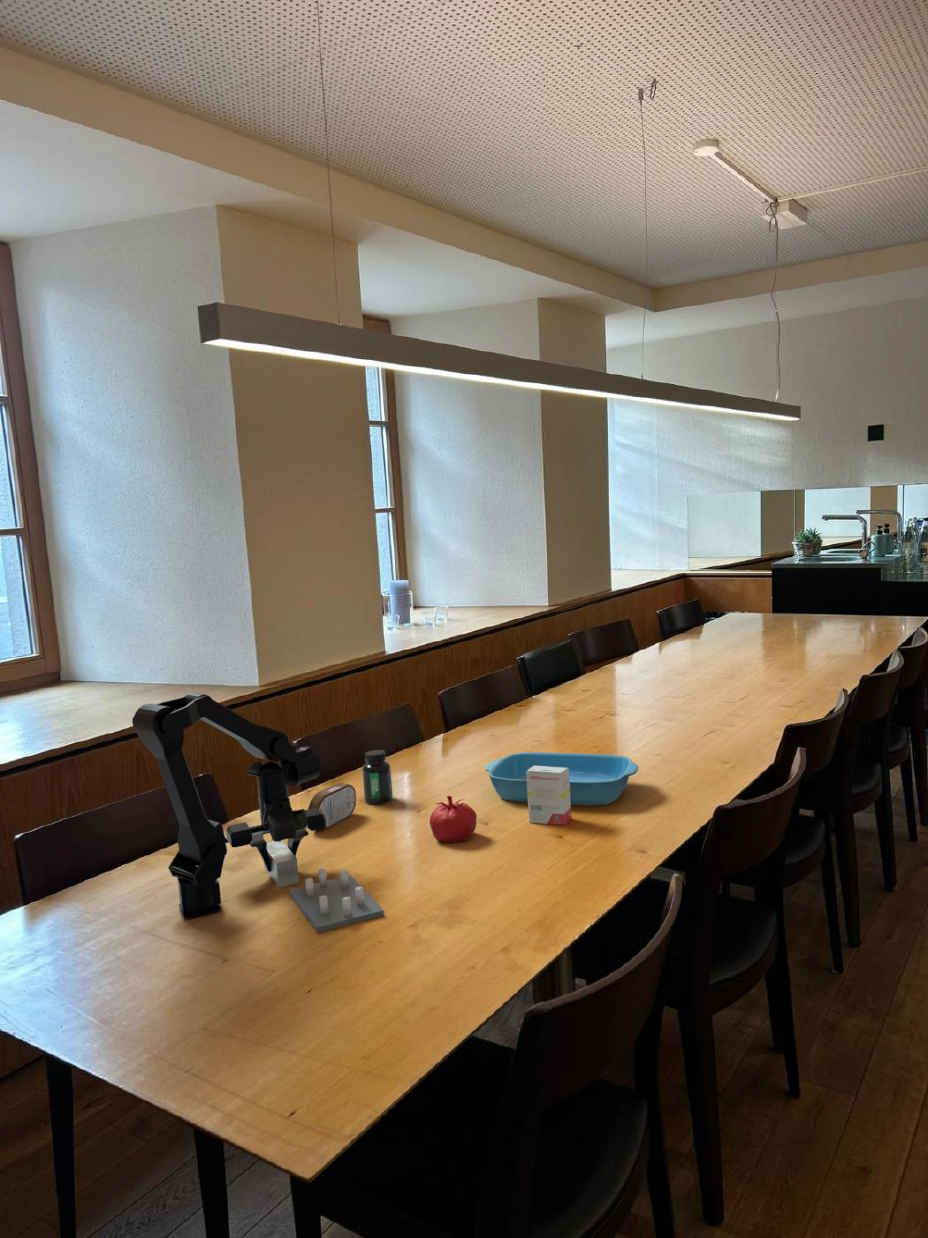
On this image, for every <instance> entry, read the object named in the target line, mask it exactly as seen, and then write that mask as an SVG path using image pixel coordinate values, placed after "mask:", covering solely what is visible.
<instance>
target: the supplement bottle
mask: <svg viewBox="0 0 928 1238" xmlns="http://www.w3.org/2000/svg"><path fill="white" fill-rule="evenodd" d="M364 755H365V758H364V761H365V763H364V764H363V766H362V769H361V770H362V771H361V772H362V773H361V774H362V781H363V782H362V783H363V784H362V785H363V796H364V802H365V803H366V804H367V805H376V806H377V805H384V804H387V803H390V802H391V801H392V800H393V798H394V797H393V796H394V795H393V784H392V780H393V779H392V769H391V765H390V763H389V762H388V761H386V760H387V758H386V751H385V750H381V749H375V750H369V751H366V752H365V754H364Z"/></svg>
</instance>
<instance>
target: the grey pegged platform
mask: <svg viewBox="0 0 928 1238" xmlns="http://www.w3.org/2000/svg"><path fill="white" fill-rule="evenodd" d="M317 871H318V881H319V882H316V883H314V878H312V877H307V878H305V879H304V883H305V885H303V886H299V887H295V888H291V889H289V895H290V897H291V899H292V900H293V901H294V903H295V904H296V905H297V907H298V908H299V909H300V911H301V912H302V914H303V915H304V916H305V918H306V919H307V921H308V922H309V924H310V925H311V927H313V929H314V931H315V932H316V933H317V934H321V933H323V932H327V931H331V930H334V929H338V928H342V927H346V926H349V925H354V924H357V923H362V922H366V921H369V920H372V919H377V918H380V917H383V916H385V911H384V909H383V908H382V907H381V906H380V904H378V902H376V900H375V899H374V898H373V897H372V896H371V895H370V894H369V892H367V890H365V888H364V887H363V886H362V885H361V884H360V883H359V882H358V881H357V880H356V879H355V878H354V877H353V875H352V874H349V875H348V869H341V870H339V877H337V878H333V879H327V869H326V868H319V869H318V870H317Z"/></svg>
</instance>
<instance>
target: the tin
mask: <svg viewBox="0 0 928 1238" xmlns="http://www.w3.org/2000/svg"><path fill="white" fill-rule="evenodd" d="M356 806H357V793H356V789H355V787H354V786H353V785H351V784H348V783H344V782H337V783H336V784H332V785H331V786H329V787H326V788H324V789H322V790H319V791H318V792H316V793H315V794H314V795H313V797H312V798H311V800H310V802H309V804H308V808H307V810H308V809H313V808H317V809H318V810H319V811H320V812H321V813H322V814H324V815H325V818H326V828H324V829H323V830H328V829H330V828H331V827H333V826H336V825H338V824H339V823H341V822H343V821H345V820H347V819H348V818H350V817H351V815H352V814H353V813H354V811H355V809H356Z"/></svg>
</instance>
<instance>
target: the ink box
mask: <svg viewBox="0 0 928 1238" xmlns="http://www.w3.org/2000/svg"><path fill="white" fill-rule="evenodd" d="M526 778H527V794H528V802H527V804H528V805H527V806H528V808H527V809H528V821H529V823H530V824H540V825H541V824H544V825H554V826H555V825H557V826H566V825H568V823H569V822H570V821H571V819H572V807H571V806H572V805H571V802H570V782H569V768H562V767H548V766H533V767H531V768H530V769H529V770H528V771H526Z"/></svg>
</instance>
